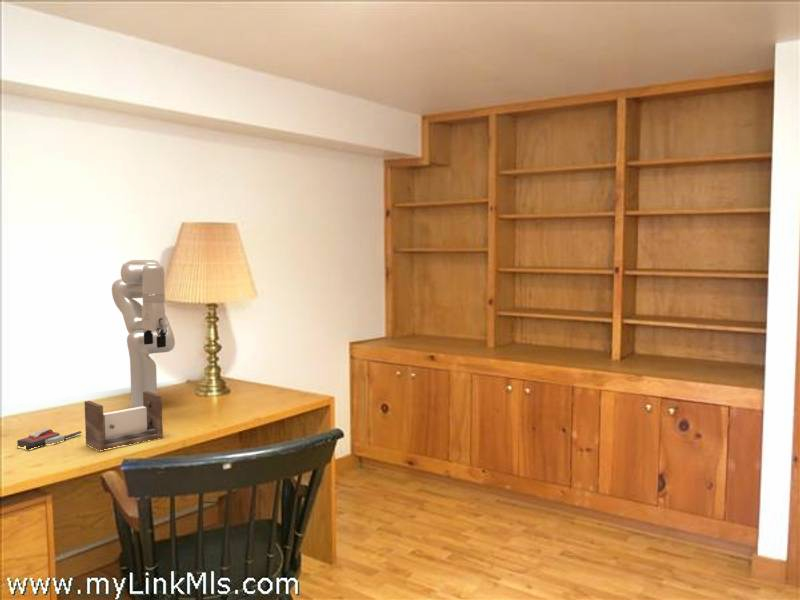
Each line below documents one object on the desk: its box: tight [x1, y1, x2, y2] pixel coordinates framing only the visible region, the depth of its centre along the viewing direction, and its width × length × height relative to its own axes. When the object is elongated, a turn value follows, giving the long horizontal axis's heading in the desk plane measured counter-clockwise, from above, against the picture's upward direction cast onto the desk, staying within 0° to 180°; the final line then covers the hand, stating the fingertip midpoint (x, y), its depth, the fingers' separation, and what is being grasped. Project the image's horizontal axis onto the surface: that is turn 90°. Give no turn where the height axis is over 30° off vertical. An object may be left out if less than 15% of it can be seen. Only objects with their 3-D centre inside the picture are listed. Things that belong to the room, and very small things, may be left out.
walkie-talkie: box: [16, 428, 82, 449], centre depth 219 cm, size 9×4×20 cm
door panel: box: [103, 406, 147, 439], centre depth 219 cm, size 14×4×9 cm, turn 137°
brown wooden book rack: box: [84, 391, 164, 451], centre depth 219 cm, size 21×10×14 cm, turn 137°
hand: (154, 345), depth 244 cm, fingers open, 9 cm apart
